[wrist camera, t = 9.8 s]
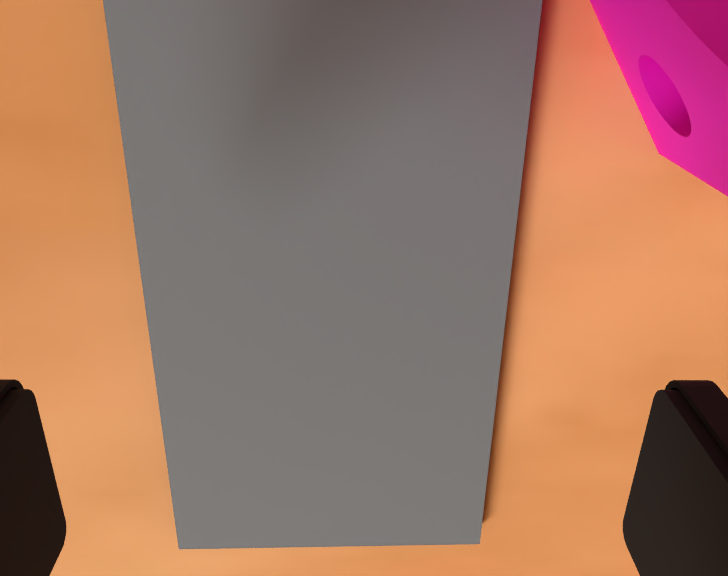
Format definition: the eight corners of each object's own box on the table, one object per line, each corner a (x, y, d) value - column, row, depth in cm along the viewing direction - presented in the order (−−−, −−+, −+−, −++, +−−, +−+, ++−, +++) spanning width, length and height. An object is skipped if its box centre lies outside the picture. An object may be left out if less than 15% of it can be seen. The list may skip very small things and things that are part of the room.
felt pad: (97, -106, 14) (88, -109, 13) (545, -97, 14) (554, -100, 14) (183, 534, 21) (178, 549, 21) (475, 529, 21) (479, 543, 21)
